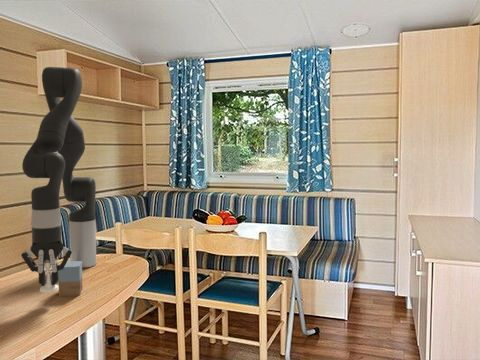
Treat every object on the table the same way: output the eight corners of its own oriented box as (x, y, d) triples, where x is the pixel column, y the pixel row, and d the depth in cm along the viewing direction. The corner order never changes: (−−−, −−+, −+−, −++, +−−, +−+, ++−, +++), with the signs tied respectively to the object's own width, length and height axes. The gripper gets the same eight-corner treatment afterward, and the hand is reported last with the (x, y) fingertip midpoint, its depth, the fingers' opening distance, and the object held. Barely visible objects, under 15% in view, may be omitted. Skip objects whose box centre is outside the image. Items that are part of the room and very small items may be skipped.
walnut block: (62, 290, 132) (61, 276, 131) (82, 288, 133) (82, 274, 133) (59, 296, 126) (58, 282, 125) (80, 295, 127) (79, 280, 127)
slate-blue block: (61, 276, 131) (61, 262, 131) (82, 274, 133) (81, 260, 132) (58, 282, 125) (58, 267, 125) (79, 280, 127) (79, 266, 126)
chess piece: (43, 287, 121) (41, 253, 120) (61, 286, 121) (59, 252, 120) (36, 293, 116) (34, 258, 115) (55, 292, 116) (53, 257, 115)
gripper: (74, 220, 122) (76, 278, 124) (22, 222, 119) (25, 282, 120) (71, 226, 115) (73, 287, 117) (15, 228, 111) (18, 291, 113)
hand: (48, 284), depth 118 cm, fingers closed on chess piece
